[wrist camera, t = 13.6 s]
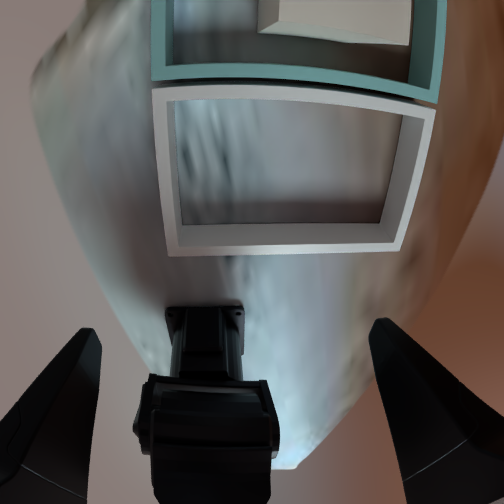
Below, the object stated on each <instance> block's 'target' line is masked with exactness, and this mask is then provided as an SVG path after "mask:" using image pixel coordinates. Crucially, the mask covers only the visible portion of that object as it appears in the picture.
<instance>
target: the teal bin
mask: <svg viewBox="0 0 504 504" xmlns="http://www.w3.org/2000/svg"><path fill="white" fill-rule="evenodd" d="M446 12H447V0H415V3H414V23H413V37H412V49H411V59H410V68H409V77H408V83H404V82H400V81H396V80H391V79H387V78H382V77H377V76H372V75H367V74H361V73H355V72H349V71H343V70H336V69H328V68H320V67H312V66H302V65H290V64H275V63H252V62H209V63H186V64H173V14H174V0H151V81H159V80H171V79H186V78H211V77H254V78H278V79H293V80H305V81H316V82H325V83H333V84H341V85H348V86H355V87H361V88H367V89H373V90H378V91H384V92H389V93H394V94H398V95H403V96H407V97H412V98H416V99H420V100H424V101H428V102H432V103H436V104H437V100H438V94H439V87H440V80H441V72H442V64H443V55H444V44H445V31H446Z"/></svg>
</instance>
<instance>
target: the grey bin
mask: <svg viewBox="0 0 504 504" xmlns="http://www.w3.org/2000/svg"><path fill="white" fill-rule="evenodd" d="M199 99H270V100H290V101H305V102H317V103H327V104H337V105H345V106H353V107H360V108H367V109H374V110H380V111H386V112H392V113H397V114H403V118H402V124H401V130H400V135H399V141H398V146H397V151H396V156H395V161H394V165H393V170H392V175H391V179H390V183H389V188H388V192H387V196H386V200H385V204H384V208H383V212H382V216H381V220H380V223H379V224H375V223H280V224H219V225H182V218H181V207H180V195H179V182H178V168H177V153H176V135H175V113H174V101H179V100H199ZM152 105H153V122H154V136H155V149H156V160H157V171H158V181H159V190H160V199H161V207H162V215H163V223H164V231H165V238H166V245H167V252H168V257H188V256H230V255H271V254H310V253H348V252H385V251H399V250H400V248H401V245H402V242H403V239H404V235H405V232H406V229H407V226H408V223H409V220H410V216H411V213H412V210H413V206H414V203H415V199H416V196H417V192H418V188H419V184H420V181H421V177H422V173H423V169H424V165H425V160H426V156H427V152H428V147H429V143H430V138H431V133H432V128H433V123H434V118H435V112H436V110H434V109H432V108H430V107H427V106H425V105H422V104H420V103H418V102H415V101H411V100H407V99H402V98H397V97H392V96H387V95H382V94H377V93H371V92H365V91H359V90H352V89H345V88H338V87H329V86H321V85H311V84H299V83H285V82H266V81H199V82H180V83H166V84H160V85H158V86H156V87H155V88H153V89H152Z"/></svg>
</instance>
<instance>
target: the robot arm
mask: <svg viewBox="0 0 504 504" xmlns="http://www.w3.org/2000/svg"><path fill="white" fill-rule="evenodd" d="M238 311H239V312H238ZM171 313H172V314H171ZM165 319H166V323H167V327H168V331H169V336H170V340H171V343H172V356H171V367H170V376H160V375H157V374H152V373H150V374H149V378H148V382H145V384H143V386H142V394H141V401H140V405H139V408H138V411H137V414H136V417H135V420H134V423H133V432H134V433H135V435H136V436H137V437H138V438H139V443H140V444H141V451H142V454H144V455H150V458H151V479H152V486H153V488H154V495H155V497H156V499H157V500H158V502H159V504H267V502H268V500H269V499H270V496H271V485H270V473H271V459H274V458H276V456H277V454H278V451H279V445H280V427H279V421H278V417H277V413H276V410H275V407H274V403H273V400H272V397H271V393H270V390H269V387H268V383H267V380H259V381H243V372H242V359H241V356H242V355H243V354H244V323H245V311H244V308H243V307H242V306H214V307H168V308H166V309H165ZM368 339H369V345H370V350H371V356H372V361H373V366H374V372H375V377H376V381H377V384H378V388H379V392H380V395H381V399H382V402H383V406H384V409H385V413H386V417H387V420H388V424H389V428H390V432H391V435H392V439H393V443H394V447H395V451H396V455H397V460H398V463H399V468H400V473H401V477H402V481H403V486H404V492H405V496H406V501H407V504H504V417H503V416H501V415H500V414H499V413H498V412H496V411H495V410H494V409H492V408H491V407H490V406H489V405H487V404H486V403H485V402H483V401H482V400H481V399H480V398H479V397H477V396H476V395H475V394H474V393H473V392H472V391H470V390H469V389H468V388H467V387H466V386H465V385H464V384H463V383H461V382H459V380H458V379H457V378H456V377H455V376H454V375H453V374H452V373H451V372H449V371H448V370H447V369H446V368H445V367H444V366H443V365H442V364H441V363H439V362H438V361H437V360H436V359H435V358H434V357H433V356H432V355H430V354H429V353H428V352H427V351H426V350H425V349H424V348H423V347H421V346H420V345H419V344H418V343H417V342H416V341H414V340H413V339H412V338H411V337H410V336H409V335H408V334H407V333H405V332H404V331H403V330H402V329H401V328H400V327H399V326H397V325H396V324H395V323H394V322H393V321H392V320H390V319H389V318H387V317H385V318H378V319H376V320H375V322H374V324H373V326H372V329H371V331H370V333H369V338H368ZM101 356H102V345H101V343H100V341H99V339H98V336H97V334H96V332H95V330H94V329H93V328H81V329H80V330H79V331H78V332H77V333H76V334H75V335H74V336H73V337H72V338H71V339H70V340H69V342H68V343H67V344H66V345H65V346H64V347H63V348H62V349H61V350H60V352H59V353H58V354H57V355H56V356H55V357H54V358H53V360H52V361H51V362H50V363H49V364H48V365H47V366H46V368H45V369H44V370H43V371H42V372H41V373H40V375H39V376H38V377H37V378H36V379H35V380H34V381H33V383H32V384H31V385H30V386H29V387H28V389H27V390H26V391H25V392H24V393H23V395H22V396H21V397H20V399H19V400H18V401H17V402H16V403H15V404H14V406H13V407H12V408H11V409H10V410H9V412H8V413H7V414H6V415H5V416H4V418H3V419H2V420H1V421H0V504H87V491H88V490H87V489H88V476H89V464H90V454H91V444H92V436H93V428H94V420H95V414H96V407H97V401H98V394H99V382H100V368H101Z"/></svg>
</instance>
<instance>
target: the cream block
mask: <svg viewBox="0 0 504 504" xmlns="http://www.w3.org/2000/svg"><path fill="white" fill-rule="evenodd" d="M410 20H411V0H259V3H258V26H257V33H263V34H278V35H290V36H300V37H309V38H316V39H324V40H330V41H336V42H342V43H378V44H396V45H409V34H410Z"/></svg>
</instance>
